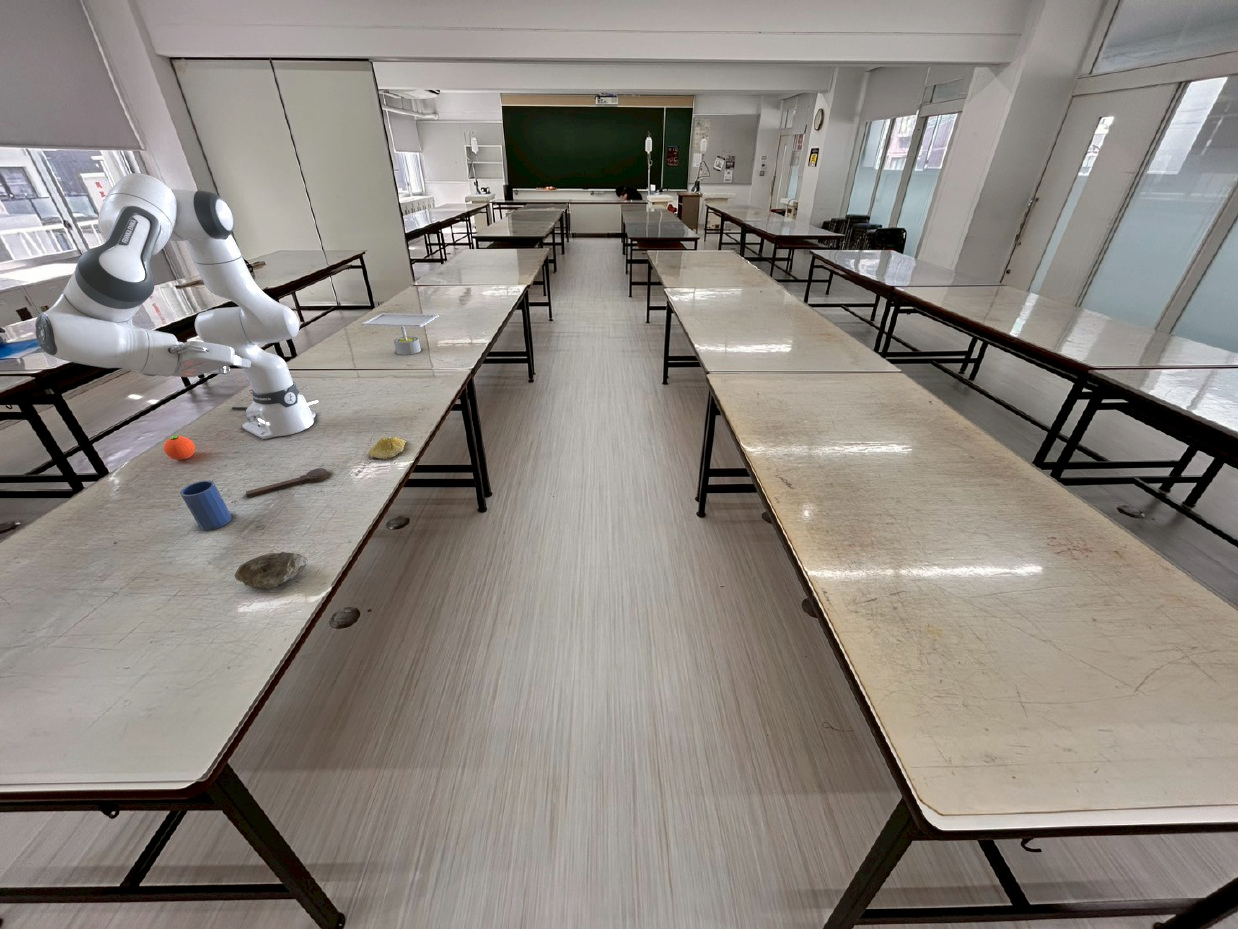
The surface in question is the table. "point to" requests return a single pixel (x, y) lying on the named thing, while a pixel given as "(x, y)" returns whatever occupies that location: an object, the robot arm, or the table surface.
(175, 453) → the clementine
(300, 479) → the spoon
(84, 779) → the table surface
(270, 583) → the stone
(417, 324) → the solar panel model
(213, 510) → the cup
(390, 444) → the fossil
